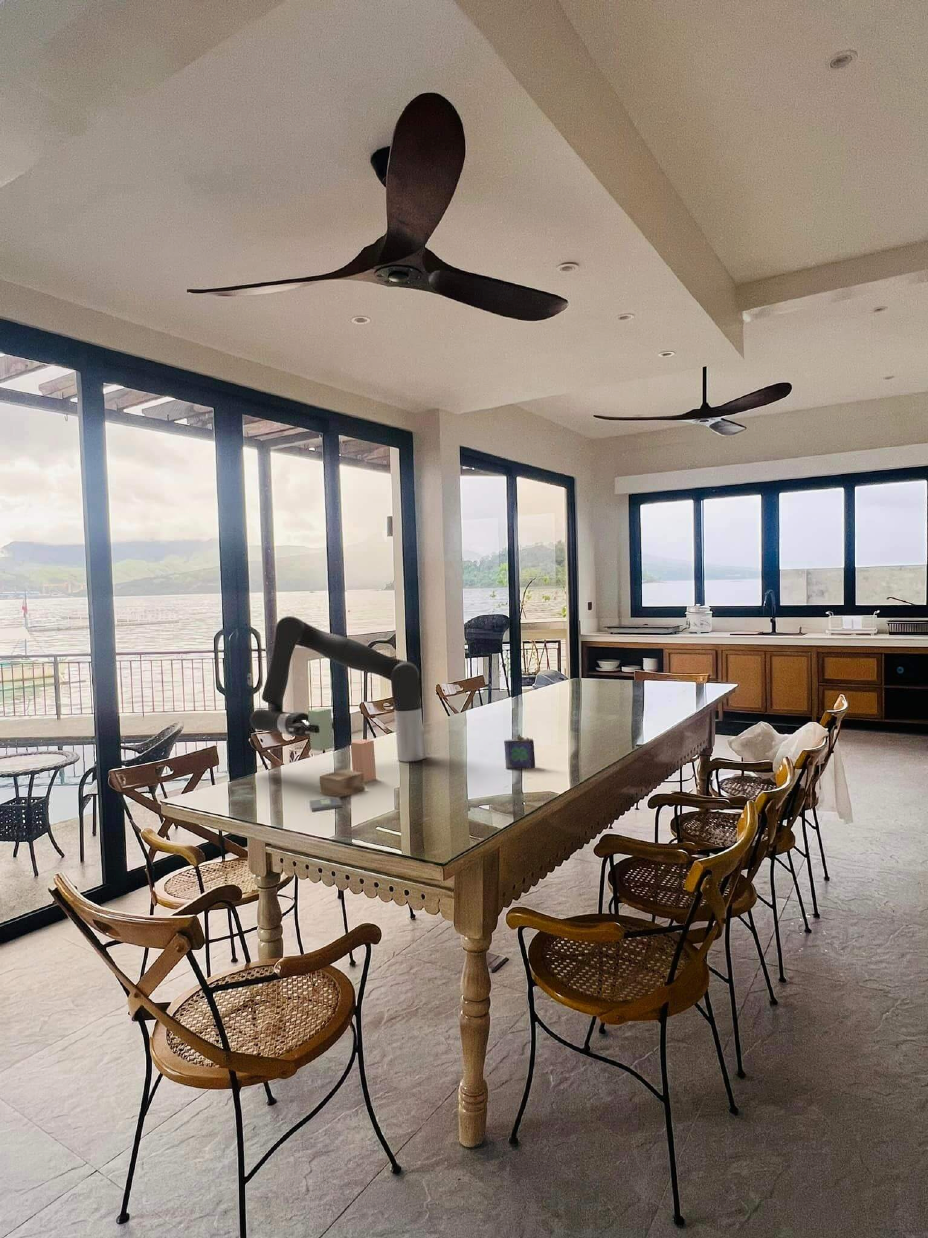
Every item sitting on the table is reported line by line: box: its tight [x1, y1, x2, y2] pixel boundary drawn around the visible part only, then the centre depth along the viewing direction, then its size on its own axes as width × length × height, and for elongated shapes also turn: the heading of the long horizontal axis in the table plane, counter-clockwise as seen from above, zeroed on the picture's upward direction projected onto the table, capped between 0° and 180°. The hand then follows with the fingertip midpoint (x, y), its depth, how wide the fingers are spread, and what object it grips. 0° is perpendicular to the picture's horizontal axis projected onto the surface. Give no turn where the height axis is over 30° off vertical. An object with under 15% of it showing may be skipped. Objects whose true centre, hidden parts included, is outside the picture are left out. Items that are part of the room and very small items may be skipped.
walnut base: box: [319, 769, 365, 798], centre depth 209 cm, size 9×9×5 cm
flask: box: [503, 732, 536, 770], centre depth 222 cm, size 9×3×11 cm, turn 79°
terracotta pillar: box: [350, 738, 377, 784], centre depth 221 cm, size 5×5×12 cm
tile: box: [309, 796, 343, 812], centre depth 196 cm, size 8×8×1 cm
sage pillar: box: [307, 707, 335, 752], centre depth 220 cm, size 5×5×12 cm
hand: (325, 727), depth 218 cm, fingers closed on sage pillar, 5 cm apart
